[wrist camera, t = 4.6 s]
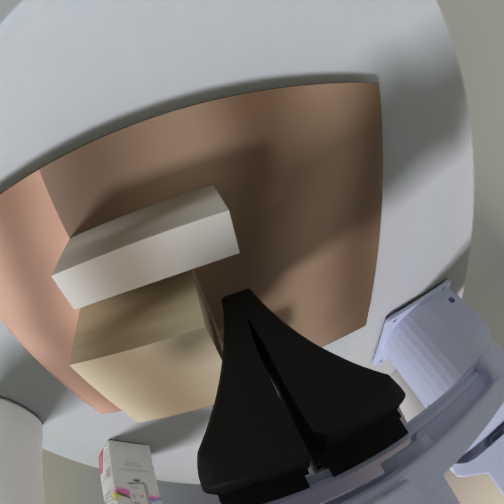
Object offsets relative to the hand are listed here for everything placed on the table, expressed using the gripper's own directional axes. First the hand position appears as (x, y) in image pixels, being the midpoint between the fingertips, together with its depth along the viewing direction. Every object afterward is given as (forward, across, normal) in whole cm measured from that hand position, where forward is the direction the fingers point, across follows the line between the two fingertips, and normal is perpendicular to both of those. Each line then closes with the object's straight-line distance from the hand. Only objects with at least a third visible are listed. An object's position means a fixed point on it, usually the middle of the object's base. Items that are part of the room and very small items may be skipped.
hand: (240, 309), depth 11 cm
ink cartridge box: (+3, +18, +20) cm, 27 cm away
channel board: (+2, +2, 0) cm, 3 cm away
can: (+3, +24, +8) cm, 26 cm away
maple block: (+1, +4, 0) cm, 4 cm away
